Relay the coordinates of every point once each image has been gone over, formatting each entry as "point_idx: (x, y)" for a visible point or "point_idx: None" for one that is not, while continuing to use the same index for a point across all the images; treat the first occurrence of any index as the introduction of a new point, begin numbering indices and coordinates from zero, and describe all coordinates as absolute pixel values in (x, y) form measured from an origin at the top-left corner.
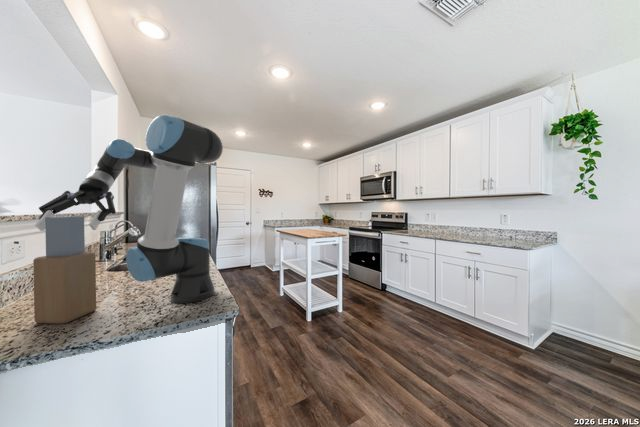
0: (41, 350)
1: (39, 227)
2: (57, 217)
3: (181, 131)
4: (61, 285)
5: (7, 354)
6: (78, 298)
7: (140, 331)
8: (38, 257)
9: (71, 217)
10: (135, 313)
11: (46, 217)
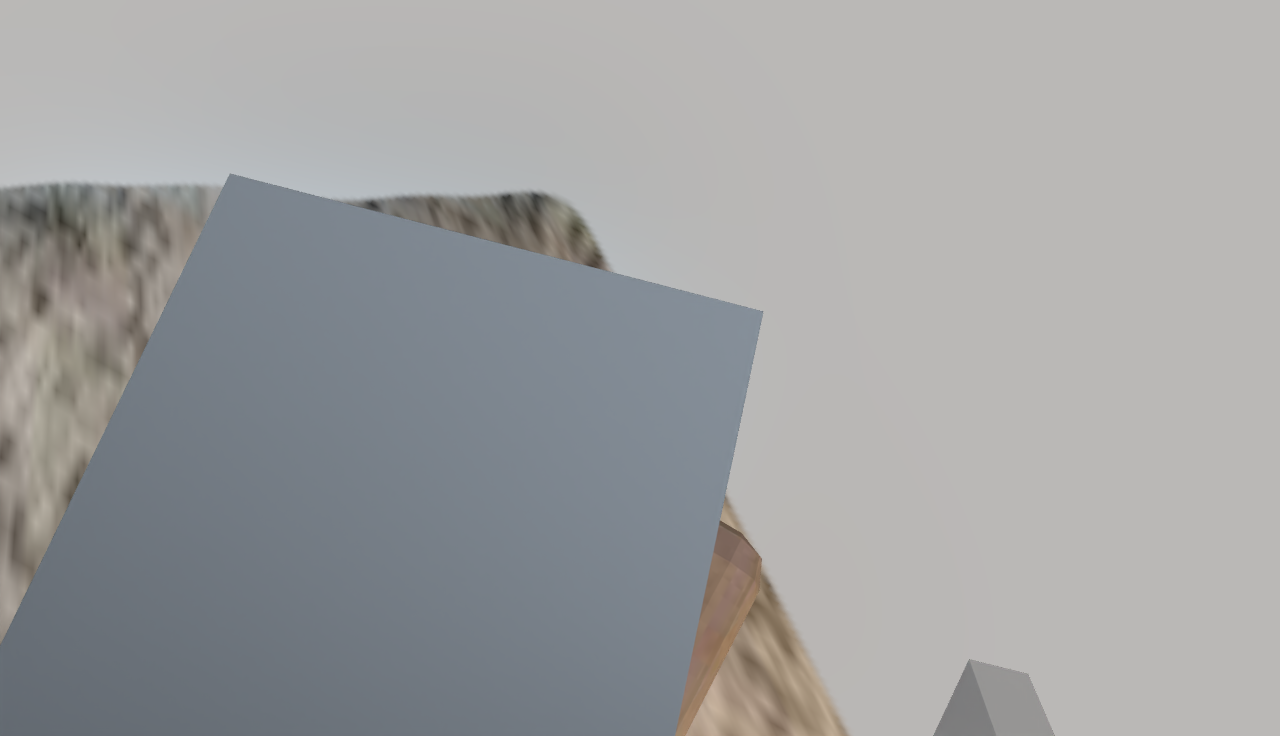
0: (473, 220)
1: (952, 726)
2: (502, 252)
3: None
4: None
5: (596, 252)
6: None
7: (67, 196)
8: (722, 545)
9: (211, 236)
10: None
11: (735, 307)
